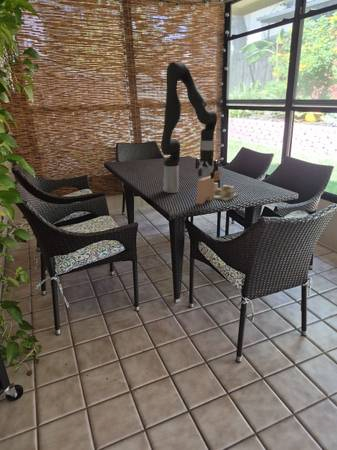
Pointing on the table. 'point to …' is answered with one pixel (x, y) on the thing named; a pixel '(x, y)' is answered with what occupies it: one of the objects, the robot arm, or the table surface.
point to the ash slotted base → (224, 192)
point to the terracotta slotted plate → (205, 189)
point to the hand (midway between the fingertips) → (206, 177)
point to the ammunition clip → (216, 177)
